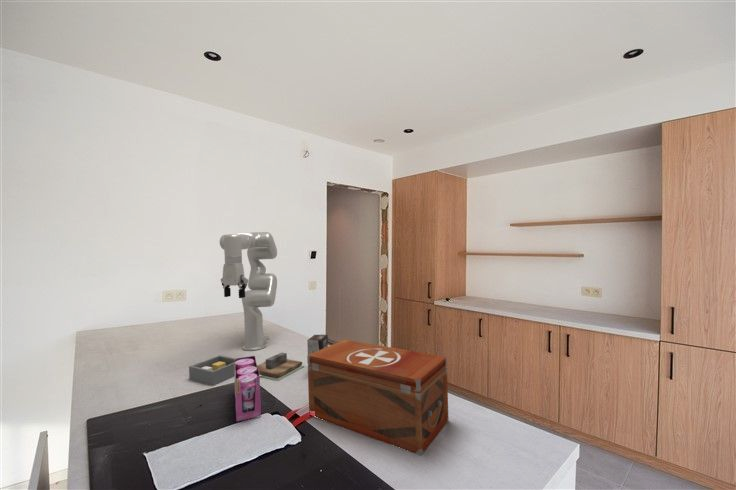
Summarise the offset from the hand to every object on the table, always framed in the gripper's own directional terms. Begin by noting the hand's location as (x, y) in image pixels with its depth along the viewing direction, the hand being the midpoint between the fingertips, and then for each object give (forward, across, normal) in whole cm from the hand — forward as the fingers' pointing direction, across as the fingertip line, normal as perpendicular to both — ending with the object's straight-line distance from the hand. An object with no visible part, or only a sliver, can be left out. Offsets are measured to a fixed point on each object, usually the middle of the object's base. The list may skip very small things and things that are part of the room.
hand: (234, 297), depth 158 cm
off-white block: (+31, +1, -18) cm, 36 cm away
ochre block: (+31, +2, -11) cm, 33 cm away
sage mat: (+32, +22, +3) cm, 39 cm away
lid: (+32, +22, +3) cm, 39 cm away
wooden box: (+33, +81, -14) cm, 88 cm away
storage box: (+32, +4, -14) cm, 35 cm away
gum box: (+33, +34, -25) cm, 54 cm away
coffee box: (+32, +42, +7) cm, 54 cm away
